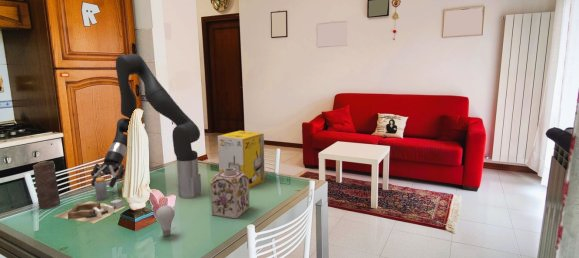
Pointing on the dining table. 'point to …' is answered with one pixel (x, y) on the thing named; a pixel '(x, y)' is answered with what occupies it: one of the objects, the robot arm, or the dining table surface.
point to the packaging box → (243, 154)
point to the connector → (100, 189)
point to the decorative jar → (229, 193)
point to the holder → (78, 213)
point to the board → (90, 220)
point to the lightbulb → (165, 218)
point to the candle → (46, 184)
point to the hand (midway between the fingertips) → (101, 186)
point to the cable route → (106, 209)
